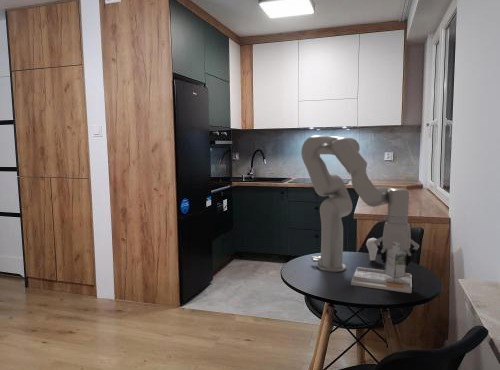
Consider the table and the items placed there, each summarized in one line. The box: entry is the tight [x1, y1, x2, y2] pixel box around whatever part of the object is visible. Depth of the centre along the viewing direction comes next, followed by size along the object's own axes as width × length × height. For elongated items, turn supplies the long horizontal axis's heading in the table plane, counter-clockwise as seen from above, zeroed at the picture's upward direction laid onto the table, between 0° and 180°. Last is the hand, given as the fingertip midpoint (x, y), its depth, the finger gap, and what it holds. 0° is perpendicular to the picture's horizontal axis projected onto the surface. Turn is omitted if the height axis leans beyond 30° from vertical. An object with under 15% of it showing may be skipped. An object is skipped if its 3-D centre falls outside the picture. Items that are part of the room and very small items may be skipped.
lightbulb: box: [365, 237, 381, 262], centre depth 178 cm, size 6×6×11 cm
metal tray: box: [352, 266, 411, 287], centre depth 151 cm, size 21×13×1 cm, turn 67°
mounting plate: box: [350, 268, 413, 294], centre depth 151 cm, size 22×18×2 cm
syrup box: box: [384, 242, 407, 278], centre depth 148 cm, size 6×6×14 cm
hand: (395, 263), depth 148 cm, fingers closed on syrup box, 8 cm apart
